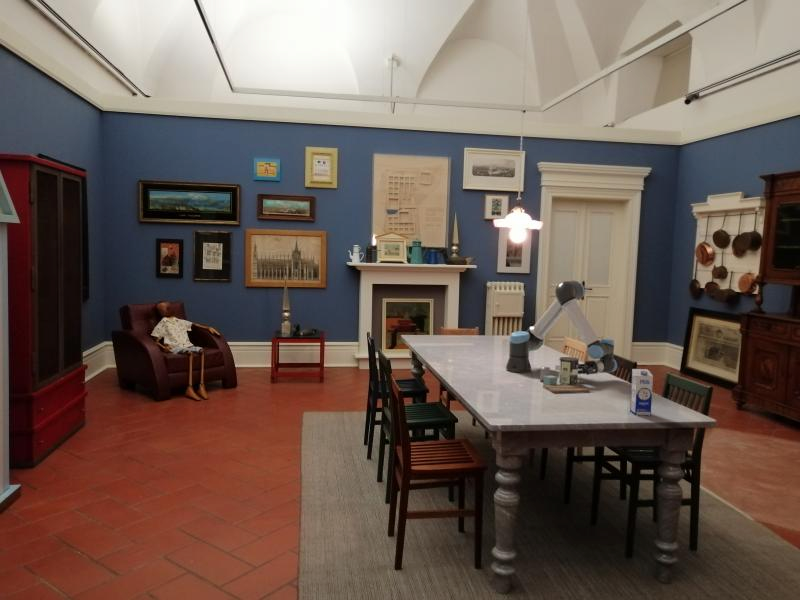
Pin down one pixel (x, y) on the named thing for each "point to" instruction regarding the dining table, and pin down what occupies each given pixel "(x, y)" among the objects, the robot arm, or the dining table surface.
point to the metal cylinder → (544, 373)
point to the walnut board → (565, 388)
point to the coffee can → (568, 370)
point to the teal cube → (550, 380)
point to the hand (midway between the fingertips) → (563, 369)
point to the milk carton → (641, 392)
